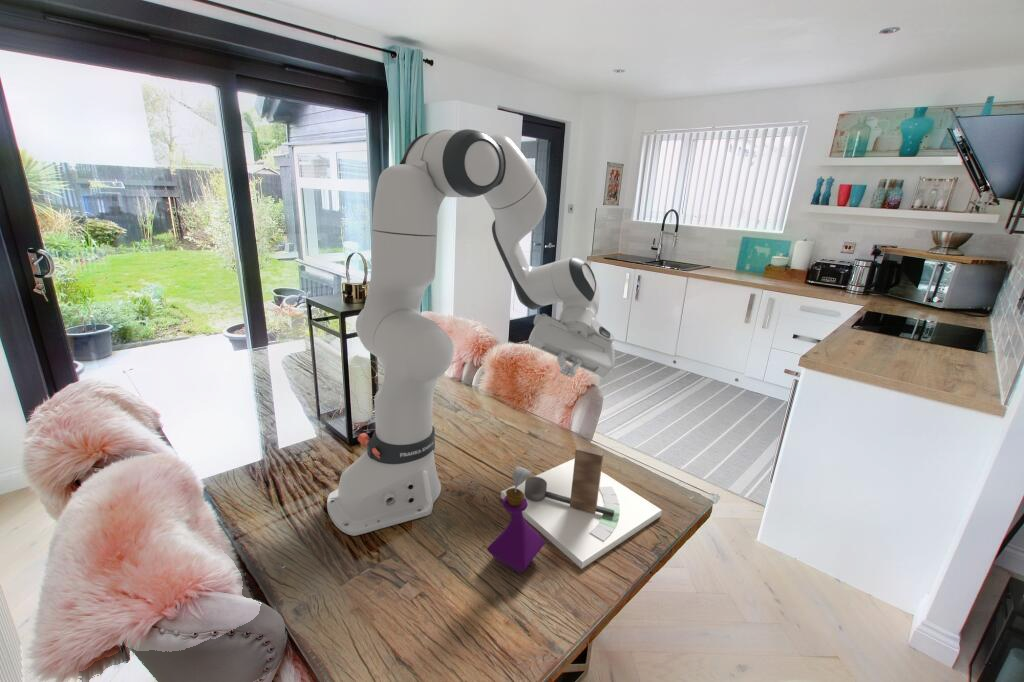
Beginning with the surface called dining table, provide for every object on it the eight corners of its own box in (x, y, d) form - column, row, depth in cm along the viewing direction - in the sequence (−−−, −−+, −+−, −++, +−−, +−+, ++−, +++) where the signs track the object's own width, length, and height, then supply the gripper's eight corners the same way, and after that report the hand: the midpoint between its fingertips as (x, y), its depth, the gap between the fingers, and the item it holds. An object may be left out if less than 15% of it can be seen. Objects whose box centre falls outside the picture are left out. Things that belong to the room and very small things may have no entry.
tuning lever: (521, 497, 91) (525, 441, 87) (528, 485, 95) (532, 430, 91) (611, 523, 85) (620, 464, 81) (615, 509, 89) (623, 452, 85)
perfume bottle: (523, 585, 73) (530, 491, 67) (485, 564, 76) (488, 474, 71) (545, 556, 79) (552, 468, 73) (509, 538, 83) (513, 453, 77)
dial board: (581, 568, 77) (582, 560, 76) (500, 497, 93) (501, 490, 93) (660, 516, 90) (662, 509, 90) (577, 462, 107) (578, 455, 107)
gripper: (541, 302, 102) (529, 346, 93) (620, 338, 105) (615, 385, 96) (531, 318, 107) (518, 362, 98) (606, 353, 110) (600, 398, 101)
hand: (567, 374), depth 97 cm, fingers closed
